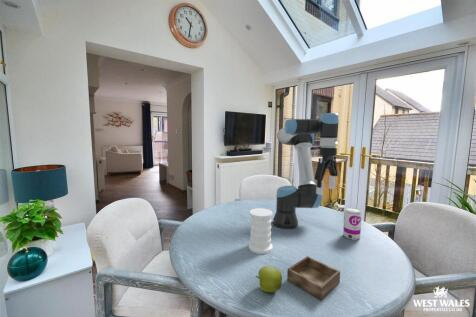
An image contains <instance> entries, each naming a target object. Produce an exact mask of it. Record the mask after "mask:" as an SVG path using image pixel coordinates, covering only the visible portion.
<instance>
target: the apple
mask: <svg viewBox="0 0 476 317" xmlns="http://www.w3.org/2000/svg"><path fill="white" fill-rule="evenodd" d="M255 278H257V279H259V287H260V289H261V290H262V291H263V292H265V293H274V292H276V291H278V290H280V288H281V286H282V283H283V275H282V272H281V271H280V270H279V269H277V268H276V267H273V266H269V265H265V266H264V265H263V266H262V267H261V268H260V269H259V270H258V275H256V276H255Z"/></svg>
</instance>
